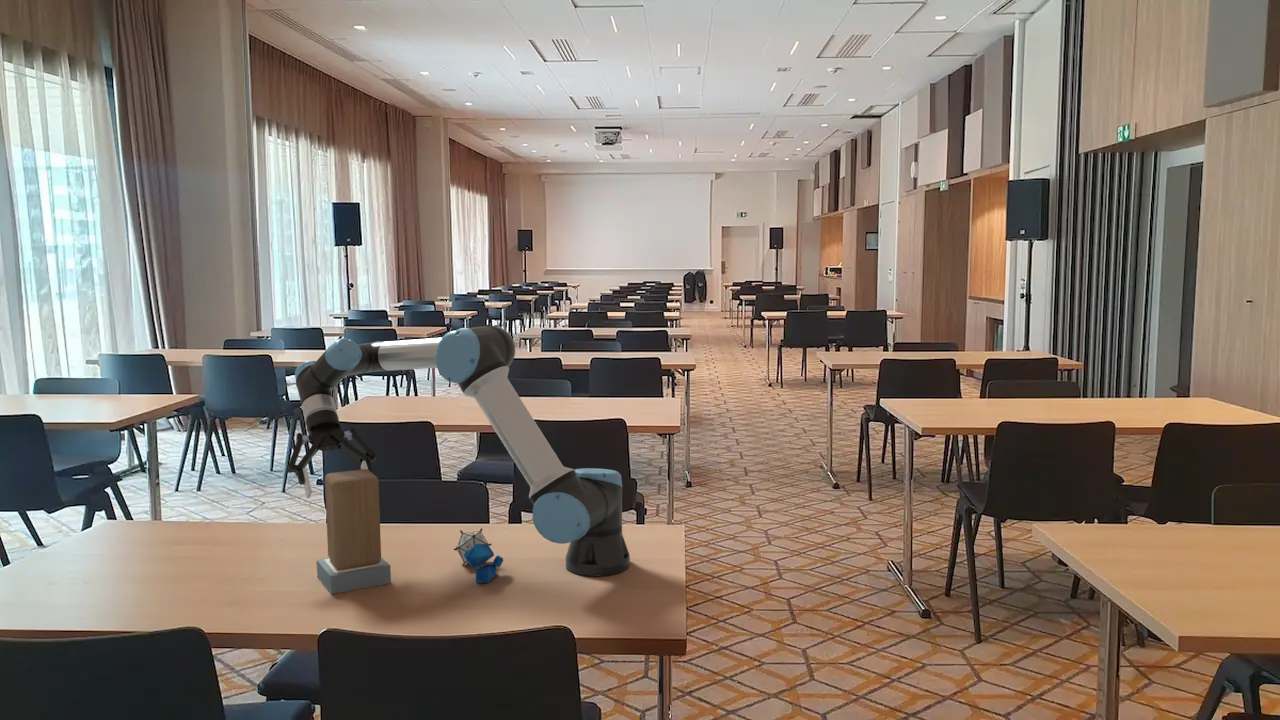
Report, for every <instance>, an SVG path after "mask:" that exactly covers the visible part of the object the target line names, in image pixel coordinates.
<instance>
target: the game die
mask: <svg viewBox="0 0 1280 720" xmlns="http://www.w3.org/2000/svg"><path fill="white" fill-rule="evenodd" d="M459 531H460V534H461V535H460V538H459V539H458V540H459V541H458V543H457V546H455V548H454V549H453V551H457V553H458V554H459V556H460V557H459V558H461V560H462V567H464V566H465V564H469V563H468V561H467V560H466V558H465V557H464V553H466V552H467V551H468V550H469V549H471V548H472V547H473V546H474V545H476V544H488V546H489V547H491V546H492V543H488V540H487V539H486V538H485V536H484V534H483V532H482V531H483V527H481V528H480V530H477V531H468V532H464V531H463V530H461V529H459ZM483 564H484V565H486V562H485V563H483Z"/></svg>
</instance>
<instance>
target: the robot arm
mask: <svg viewBox="0 0 1280 720" xmlns="http://www.w3.org/2000/svg"><path fill="white" fill-rule="evenodd" d="M515 356H516V345H515V341H514V339H513V337H512V336H511V334H510V333H509V332H508V331H507V330H505V329H504V328H502V327H501V326H496V325H483V326H475V327H460V328H457V329H454V330H451V331H448V332H447V333H445V334H444V335H443V336H441V337H429V338H417V339H416V338H414V339H401V340H388V341H387V340H386V341H373V342H372V341H371V342H367V343H359V344H357V343H356V342H355V341H354V340H352V339H348V338H345V337H344V338H343V337H341V338H339V339H338V338H337V339H336V340H335V341H334V342H333V343H332V344H330V345H329V346H328V347H327V349H326V350H325V351H324V352H323V353H322V354H321V356H319V357H318V359H317V360H307V361H305V362H304V363H300V364H299V365H298V366H297V367H296V368H295V370H294V377H295V378H294V379H295V385H296V386H295V387H296V388H297V392H298V393H297V394H298V396H299V400H300V401H299V402H300V404H301V408H302V411H303V417H304V419H305V425H306V429H307V433H308V434H307V435H306V434H305V435H303V434H302V433H301V432H299V433H297V434H296V438H295V446H294V449H293V452H292V455H291V457H290V459H289V462H288V466H287V470H286V471H287V473H289V474H291V473H295V476H296V477H297V481H298V484H299V485H300V486H302V485H303V486H304V491H305V495H306V499H310V498H311V497H312V492H313V489H312V485H311V482H310V477H309V473H308V469H307V466H308V464H309V463H310V462H311V460H312V459H313V457H314V456H315V455H316V454H317V453H318V452H319V451H321V452H327V451H336V450H338V451H339V452H341V453H344V454H346V455H347V456H349V457H351V459H353V460H355V461H356V462H358V463H360V470H361V469H367V470H369V471H370V472H372V473H373V467H372V464H374V463H375V462H376V459H377V453H376V452H375V451H374V450H373V449H372V448H371V447H370V446H369V445H368V444H367V443H366V442H365V441H364V440H363V439H362V438H361V437H360V435H358V432H357V430H356V428H354V427H351V428H350V430H347V431H344V430H343V429H342V427H341V422H340V419H339V416H338V411H337V408H336V404H335V401H334V396H333V393H332V390H333V389H334V388H335V387H336V386H337V385H338V384H339V383H340V382H341V381H342V380H343V379H344V378H346V377H350V376H355V375H360V374H365V373H366V374H368V373H373V372H374V373H376V372H388V371H389V372H390V371H407V370H423V369H437V371H438V373H439V374H440V376H441V377H442V378H443V379H444V380H446V381H447V382H450V383H453V384H457V385H458V387H459V388H460V390H461V392H462V393H463V395H464V396H465V397H469V398H473V399H474V400H475V401H476V403H477V404H478V406H479V408H480V409H481V410H482V412H483V414H484V415H485V417H486V418H487V420H488V422H489V423H490V425H491V426H492V428H493V430H494V431H495V434H496V435H497V436H498V438H499V439H500V440H501V443H502V444H503V446H504V447H505V449H506V450H507V453H508V454H509V455H510V457H511V458H512V460H513V462H514V463H515V465H516V467H517V468H518V470H519V471H520V473H521V474H522V476H523V478H524V479H525V481H526V483H527V485H529V487H530V489H529V494H528V499H529V501H530V502H531V504H532V505H533V508H532V522H533V523H532V524H533V525H534V527H535V529H536V530H537V532H538V533H539V534H540V535H541V536H542V537H543V538H544V539H545V540H547V541H549V542H551V543H555V544H557V545H558V544H561V545H562V544H563V545H564V544H569V545H568V548H567V552H566V555H565V568H566V569H567V570H568V571H569V572H571V573H573V574H576V575H581V576H589V577H604V576H605V577H606V576H611V575H616V574H619V573H622V572H624V571H626V570H627V569H629V567H630V565H631V564H630V563H631V557H630V552H629V549H628V547H627V544H626V540H625V537H624V535H623V482H622V481H623V480H622V475H621V473H620V472H619V471H616V470H613V469H607V468H595V467H594V468H590V467H587V468H586V467H585V468H584V467H583V468H575V469H573V468H572V467H571V468H570V467H566V466H564V465H563V464H562V461H561V460H560V459H559V457H558V455H557V453H556V452H555V451H554V449H553V448H552V446H551V444H550V443H549V441H548V440H547V438H546V437H545V435H544V434H543V432H542V430H541V428H540V427H539V426H538V424H537V423H536V421H535V419H534V418H533V416H532V415H531V413H530V411H529V410H528V409H527V407H526V405H525V404H524V402H523V400H522V398H521V397H520V396H519V394H518V392H517V391H516V389H515V388H514V386H513V385H512V383H511V381H510V380H509V378H508V376H509V372H510V366H511V364H512V363H513V361H514V360H515V359H514V358H515ZM345 438H347V440H346V439H345ZM348 441H350V442H351V443H352V444H351V443H349V442H348ZM306 442H308V443H309V444H311V446H310V448H309V449H308V450H307V452H306V453H305V455H304V456H303V457H302V459H301V460H300V461H299V463H298V464H297V463H296V462H297V461H298V458H299V455H300V453H301V451H302V446H305V444H306ZM353 445H354V446H353Z"/></svg>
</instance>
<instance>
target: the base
mask: <svg viewBox="0 0 1280 720" xmlns="http://www.w3.org/2000/svg"><path fill="white" fill-rule="evenodd" d="M391 573H392V572H391V565H390V564H389V563H388V562H387V561H386V560H385V559H384V558H383V557H382V556H381V560H380V562H379V563H376V564H370V565H364V566H358V567H352V568H346V569H337V568H336V567H335V565H334V564H333V563H332V561H331V560H330V558H329V557H326V558H320V559H316V575H317V578H318V580H319V581H320V583H322V584H323V586H324V587H325V588H326V590H327V591H328V592H329V594H330V595H335V594H340V592H341V593H344V592H350V590H351V591H355V590H361V589H366V588H371V587H375V585H377V586H381V585H387V584H391V583H392V579H391V576H392V574H391ZM390 582H391V583H390ZM386 583H387V584H386ZM360 588H361V589H360Z"/></svg>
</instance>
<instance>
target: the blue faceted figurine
mask: <svg viewBox="0 0 1280 720" xmlns="http://www.w3.org/2000/svg"><path fill="white" fill-rule="evenodd" d="M488 544H489V543H488ZM488 544H476V545H474V546H473V547H472V548H471V549H469V550H468V551H467V552H466V553H464V557H465V558H466V560H467V561H468V563H467V564H469V566H470V568H472V569H474V568H476V569H475V582H476V583H477V582H478V583H480V584H488V583H489V582H490V581H491V580H492V579H493V578H494V577H495V576H496V575H497V567H498V568H500V567H501V566H502V564H503V563H504V557H501V556H500V555H496V556H495V552H494V551H493V550H492V548H491V546H488ZM494 556H495V557H494ZM493 557H494V560H493V562H492V563H486V562H488V561H489V560H491V558H493ZM484 563H485V564H484ZM483 564H484V565H483ZM481 565H482V566H481ZM479 566H480V567H479ZM477 567H478V568H477Z"/></svg>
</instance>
